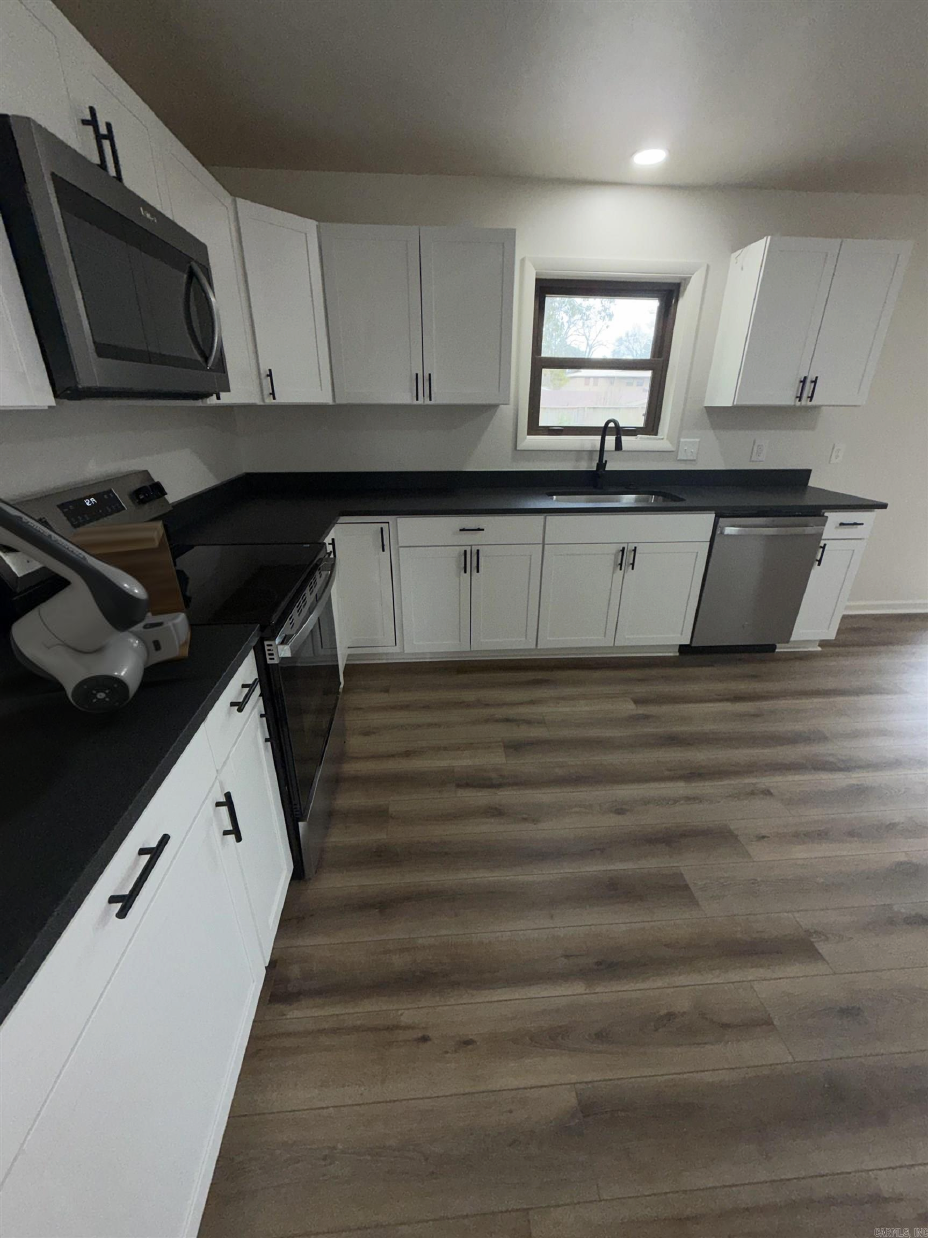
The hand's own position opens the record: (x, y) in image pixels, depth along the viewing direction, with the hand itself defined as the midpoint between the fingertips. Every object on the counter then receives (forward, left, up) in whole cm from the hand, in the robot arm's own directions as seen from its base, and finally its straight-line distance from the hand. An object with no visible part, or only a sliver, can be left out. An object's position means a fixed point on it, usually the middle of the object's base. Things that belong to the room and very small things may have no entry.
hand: (131, 618), depth 98 cm
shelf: (+1, +4, -11) cm, 11 cm away
